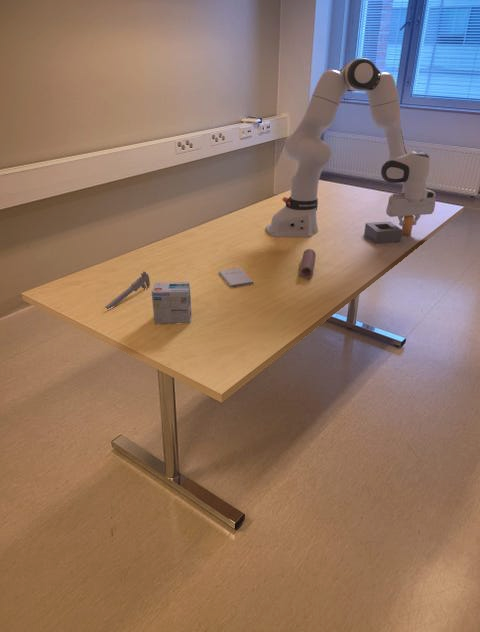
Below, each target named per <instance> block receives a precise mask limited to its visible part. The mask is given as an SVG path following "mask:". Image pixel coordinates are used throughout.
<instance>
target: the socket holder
mask: <svg viewBox="0 0 480 632" xmlns="http://www.w3.org/2000/svg"><path fill="white" fill-rule="evenodd" d="M364 236H366V238H368V239H369V240H371V241H372V242H373V243H374V244H375V245H376V244H377V245H378V244H390V243H400V242H401V241H402V240H401V239H402V236H403V235H402V228H400V227H398V226H397V225H396V224H394V223H393V222H391V221H377V222H375V221H374V222H365V226H364Z"/></svg>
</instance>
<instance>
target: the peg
mask: <svg viewBox="0 0 480 632" xmlns="http://www.w3.org/2000/svg"><path fill="white" fill-rule="evenodd" d="M414 218H415V215H411V216H404V217H403V219H402V220H403V221H404V222H405V224H404V226H401V230H402V235H401V236H403V237H411V235H412V231H413V226H414V225H413V220H414Z"/></svg>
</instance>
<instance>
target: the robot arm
mask: <svg viewBox="0 0 480 632" xmlns="http://www.w3.org/2000/svg"><path fill="white" fill-rule="evenodd" d="M360 91H363V92H364V93H365V94H366V96H367V99H368V103H369V110H370V111H369V112H370V115H371V118H372V121H373V123H374V125H375V126H376V127H378V128H379V129H381V130H382V132H383V133H384V134H385V138H386V142H387V143H386V144H387V148H388V155H389V156H388V160H387V161H385V163H384V164H383V165H382V167H381V170H380V175H381V177H382V179H383V180H384V181H385V182H386V183H388V184H398V183H402V189H401V190H402V191H401V193H393V194H391V195H390V196H389V197H388V203H387V206H386V210H385V213H386V215H387V216H389V217H390V218H391V217H392V218H394V217H397V218H398V221H399V223H398V224H399V226H400V227H402V226H404V224H405V222H404V221H403V220H404V216H411V215H412V216H414V220H413V226H416V225H417V222H418V221H419V219H420V218H421V216H425V215H433V213H434V212H435V207H436V199H435V198H436V196H437V193H436V192H434V191H433V190H430V189H429V188H427V179H428V176H429V172H430V165H431V164H430V163H431V162H430V160H431V159H430V156H429V154H428V153H426V152H424V151H421V150H411V151H409V152H407V150H406V147H405V142H404V136H403V132H402V127H401V126H402V125H401V108H400V107H401V106H400V97H399V92H398V88H397V84H396V81H395V79H394V76H393V74H391V73H389V72H385V71H380V69H378V68H377V66H376V64H374V62H373V61H372V60H370V59H369V58H365V57H360V58H356V59H352V60H351V61H349V62H348V63H347V64H345V65H344V66H343V67H342V68H341V69H340V70H336V69H328V70H325V71H324V72H322V74H321V76H320V78H319V80H318V81H317V83H316V86H315V88H314V91H313V93H312V96H311V97H310V101H309V103H308V106H307V108H306V111H305V114H304V116H303V118H302V120H301V121H300V123H299V124H298V126H297V128H296V129H295V130H294V132H293V133H291V134H290V135H288V136H287V138H286V139H285V141H284V146H283V148H284V152H285V154H286V155H287V156H288V157H289V158H290V159H292V160H293V161H295V162H298V166H297V170H296V172H295V174H294V175H293V176H292V177H291V182H290V184H291V185H290V196H289V197H286V196H284V197H282V199H281V200H282V201H283V202H284V203H285V206H283V208H281V209H280V210H278V211H276V212H275V213H274V214H273V216H272V218H271V223H270V224H266V226H265V230H266V231H265V232H266V233H268V234H269V235H270V236H271V237H274V238H310V237H312V236H313V235H315V234H317V233H318V232H319V228H318V222H317V221H318V220H317V211H318V204H319V203H318V202H319V201H318V200H319V199H318V189H319V182H320V177H321V174H322V171H323V169H324V167H325V166H326V165H328V164H329V162H330V160H331V159H332V158H331V157H332V150H331V147H330V145H329V144H327V142H325V141H324V140H323V139H321V138H320V137H321V136H322V135H323V133H324V132H325V131H326V130H327V129H329V128H331V125H332V124H333V122H334V118H335V116H336V113H337V111H338V108H339V106H340V103H341V100H342V98H343V96H344V94H345V92H360Z"/></svg>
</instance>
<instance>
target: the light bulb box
mask: <svg viewBox="0 0 480 632" xmlns="http://www.w3.org/2000/svg"><path fill="white" fill-rule="evenodd" d="M190 286H191V285H190V281H181V282H177V281H175V282H154V283H153V286H152V290H151V298H152V299H151V300H152V301H151V302H152V308H153V309H152V310H153V320H154V324H155V323H190V324H191V321H190V320H191V319H192V299H191V287H190Z"/></svg>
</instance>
